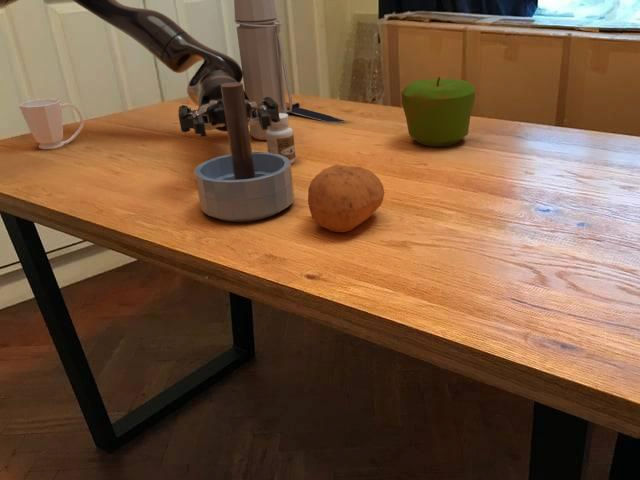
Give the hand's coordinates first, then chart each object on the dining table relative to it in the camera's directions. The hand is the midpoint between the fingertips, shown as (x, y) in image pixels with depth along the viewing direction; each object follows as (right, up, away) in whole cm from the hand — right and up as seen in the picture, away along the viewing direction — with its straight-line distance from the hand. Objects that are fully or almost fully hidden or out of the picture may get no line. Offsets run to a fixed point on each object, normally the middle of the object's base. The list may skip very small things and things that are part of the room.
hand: (234, 126), depth 91 cm
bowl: (+2, -11, +1) cm, 11 cm away
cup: (-40, +4, +33) cm, 52 cm away
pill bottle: (+4, -2, +19) cm, 19 cm away
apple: (+30, +3, +26) cm, 40 cm away
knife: (+3, +14, +47) cm, 49 cm away
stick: (+2, -10, +1) cm, 11 cm away
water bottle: (0, +6, +33) cm, 33 cm away
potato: (+16, -14, -5) cm, 22 cm away
